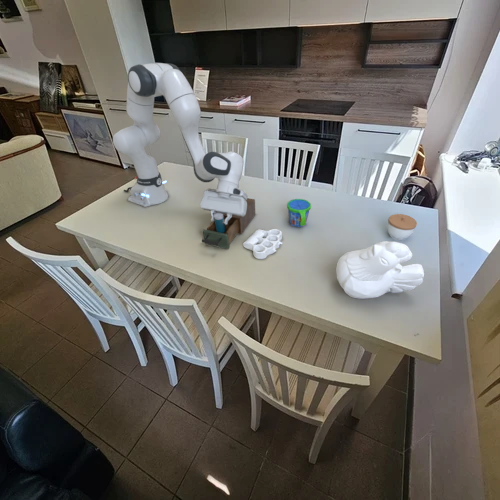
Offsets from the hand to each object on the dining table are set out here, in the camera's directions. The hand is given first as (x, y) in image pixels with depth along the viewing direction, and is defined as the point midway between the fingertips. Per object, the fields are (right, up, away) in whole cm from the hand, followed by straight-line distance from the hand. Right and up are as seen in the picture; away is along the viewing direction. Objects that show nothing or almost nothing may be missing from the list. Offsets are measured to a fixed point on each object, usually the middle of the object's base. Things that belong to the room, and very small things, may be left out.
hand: (219, 222), depth 116 cm
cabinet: (+7, +2, +18) cm, 19 cm away
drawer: (+1, -6, +6) cm, 9 cm away
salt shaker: (0, -3, +3) cm, 5 cm away
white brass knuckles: (+19, -10, +3) cm, 22 cm away
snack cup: (+35, +1, +15) cm, 38 cm away
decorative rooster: (+55, -27, -20) cm, 64 cm away
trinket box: (+77, -5, +4) cm, 77 cm away
